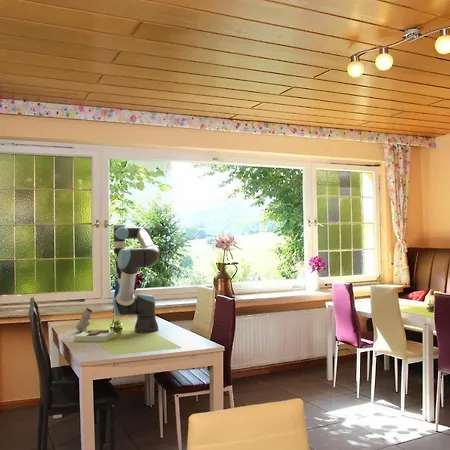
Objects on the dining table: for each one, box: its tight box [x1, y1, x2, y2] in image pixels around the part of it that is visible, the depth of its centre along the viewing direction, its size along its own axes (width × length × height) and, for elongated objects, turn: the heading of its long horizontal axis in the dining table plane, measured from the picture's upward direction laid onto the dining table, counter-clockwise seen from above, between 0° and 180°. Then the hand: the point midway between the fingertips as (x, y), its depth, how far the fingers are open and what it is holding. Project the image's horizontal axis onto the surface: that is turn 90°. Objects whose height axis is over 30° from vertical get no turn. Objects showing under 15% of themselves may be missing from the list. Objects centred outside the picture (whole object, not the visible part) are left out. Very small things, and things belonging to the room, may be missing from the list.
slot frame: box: [74, 330, 115, 342], centre depth 316 cm, size 19×14×3 cm
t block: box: [87, 329, 110, 336], centre depth 318 cm, size 12×12×4 cm
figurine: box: [75, 307, 93, 333], centre depth 340 cm, size 9×10×15 cm
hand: (120, 283), depth 351 cm, fingers closed
